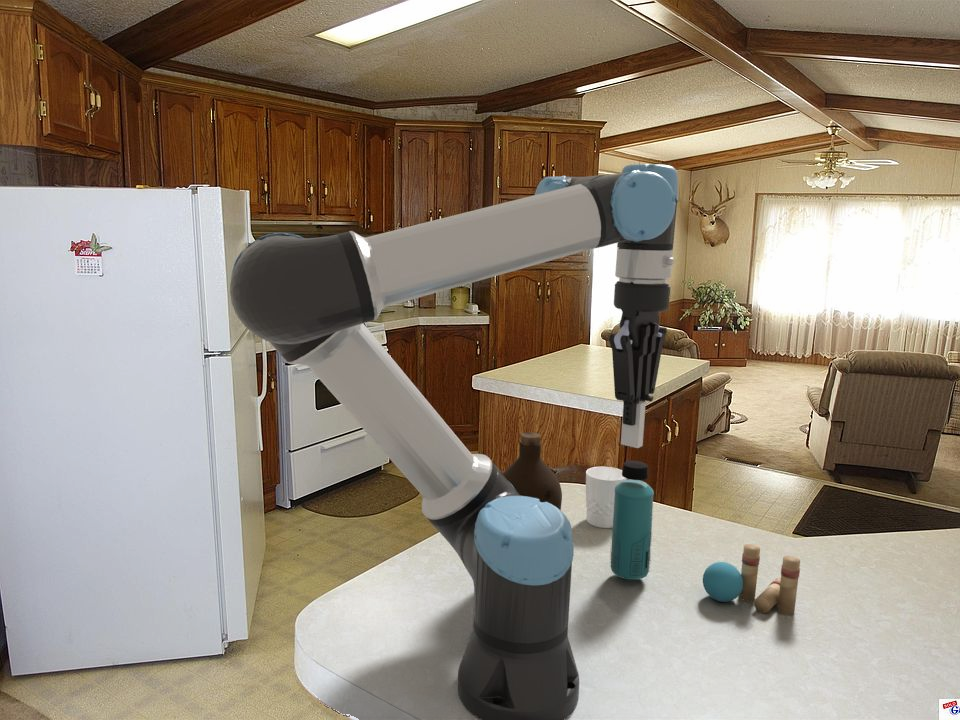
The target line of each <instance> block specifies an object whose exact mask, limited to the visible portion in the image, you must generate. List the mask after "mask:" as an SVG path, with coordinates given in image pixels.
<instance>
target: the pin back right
mask: <svg viewBox="0 0 960 720" xmlns="http://www.w3.org/2000/svg"><path fill="white" fill-rule="evenodd" d="M780 568H781V569H780V578H781V581H780V590H779V599H778V602H777V611H778V613H780V614H783V615H786V616H791V615H794V614H795V608H796V602H797V601H796V600H797V594H798V593H797V592H798V585H799V584H798V583H799V578H800V571H801V560H800V559H799V557H796V556H793V555H784V556H783V557H782V564H781V567H780Z"/></svg>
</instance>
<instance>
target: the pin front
mask: <svg viewBox="0 0 960 720" xmlns="http://www.w3.org/2000/svg"><path fill="white" fill-rule="evenodd" d="M780 581H781V577H777V578H776V579H775V580H773V581H772V582H771V583H770V584H769V585H768V586H767V588H766V589H764V590H763V591H762V592H761V593H760V594H759V595H758V596H757V597H755V600H754V601H753V606H754V608H755V609H756V610H757V611H758V612H759V613H762V614H766V613H768V612H769V611H770V610H771V609H772V608H773V607H774V606H775V605H776V604H778V599H779V590H780Z"/></svg>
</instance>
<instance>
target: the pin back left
mask: <svg viewBox="0 0 960 720" xmlns="http://www.w3.org/2000/svg"><path fill="white" fill-rule="evenodd" d="M760 553H761V547H760V546H758V545H756V544H751V543H746V544H744V545H743V550H742V557H741V562H742V563H741V570H740V571H741V572H740V574H741V576H742V579H743V588H742V591H741V593H740V595H739V596H738V598H739V599H740V600H742V601H745V602H754V601H755V599H756V591H757V582H758V573H759V565H760V559H761V556H760V555H761V554H760Z"/></svg>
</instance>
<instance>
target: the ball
mask: <svg viewBox="0 0 960 720" xmlns="http://www.w3.org/2000/svg"><path fill="white" fill-rule="evenodd" d="M702 585H703V588H704V590H705V592H706V593H707V595H708V596H709V597H711V598H712V600H713V599H714V600H715V601H718V602H721V603H722V602H723V603H726V602H727V603H728V602H731V601H732V602H733V601H734V600H735V599H737V598H739V595H740V593H741V591H742V588H743V579H742V576H741V572H740V570H738V568H737V567H735V566H734V565H733V564H731V563H728V562H725V561H717V562H714V563H711V564H709V566H707V568H706V569H705V570H704V572H703V575H702Z"/></svg>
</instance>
